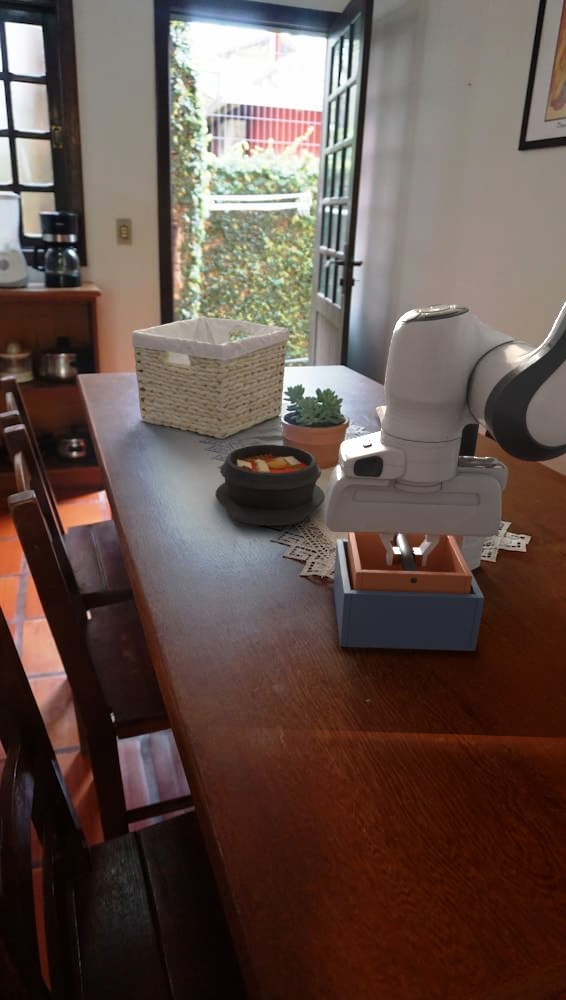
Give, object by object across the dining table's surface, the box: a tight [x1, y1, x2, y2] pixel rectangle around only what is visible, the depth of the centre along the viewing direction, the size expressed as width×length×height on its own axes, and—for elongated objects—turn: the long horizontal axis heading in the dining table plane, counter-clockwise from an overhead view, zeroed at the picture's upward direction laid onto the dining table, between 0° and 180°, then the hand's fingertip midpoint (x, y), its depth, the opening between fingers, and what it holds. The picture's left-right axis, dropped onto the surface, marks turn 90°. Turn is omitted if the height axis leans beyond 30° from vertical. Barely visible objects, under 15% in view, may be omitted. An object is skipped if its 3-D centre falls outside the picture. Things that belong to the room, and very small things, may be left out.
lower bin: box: [332, 538, 485, 652], centre depth 83 cm, size 16×14×8 cm
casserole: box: [215, 444, 326, 527], centre depth 115 cm, size 25×19×8 cm
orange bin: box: [346, 532, 473, 594], centre depth 83 cm, size 13×11×9 cm
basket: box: [131, 315, 290, 440], centre depth 158 cm, size 27×27×22 cm
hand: (405, 563), depth 82 cm, fingers closed on orange bin, 2 cm apart
